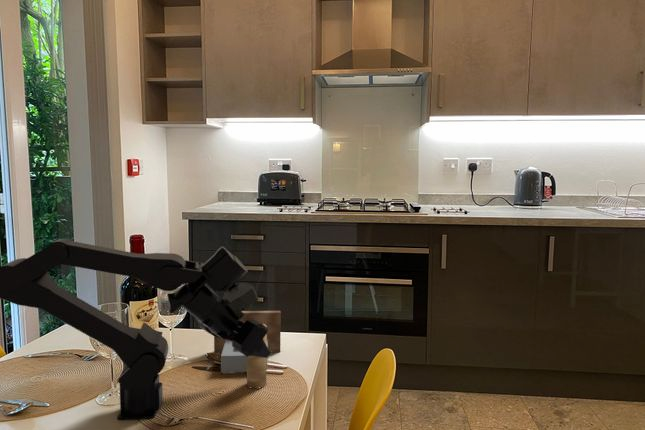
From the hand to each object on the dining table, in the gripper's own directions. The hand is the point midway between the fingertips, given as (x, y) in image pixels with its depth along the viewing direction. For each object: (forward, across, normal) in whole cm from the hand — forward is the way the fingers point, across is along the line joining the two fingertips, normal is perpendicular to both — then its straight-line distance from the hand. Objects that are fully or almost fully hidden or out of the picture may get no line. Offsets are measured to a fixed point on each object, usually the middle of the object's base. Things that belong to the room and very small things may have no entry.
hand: (256, 348), depth 96 cm
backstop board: (+11, +16, 0) cm, 20 cm away
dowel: (+6, 0, +5) cm, 8 cm away
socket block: (+8, +10, +3) cm, 14 cm away
